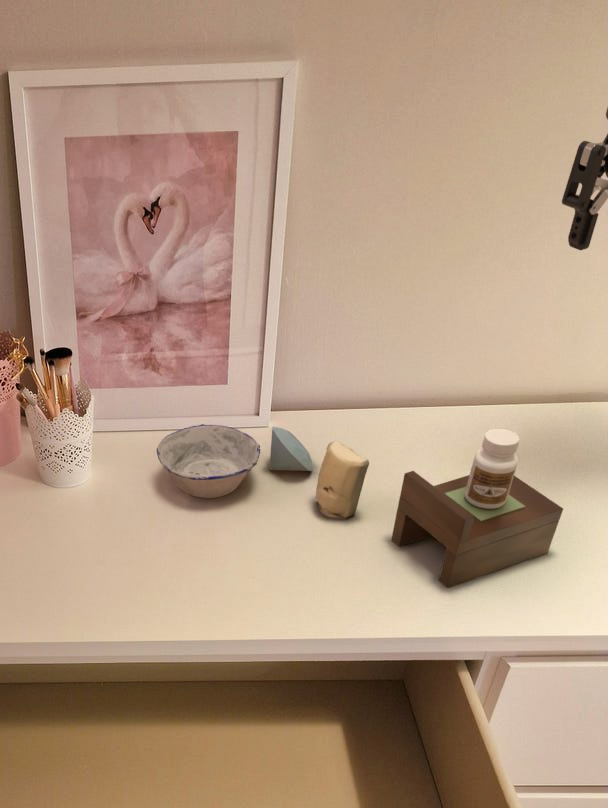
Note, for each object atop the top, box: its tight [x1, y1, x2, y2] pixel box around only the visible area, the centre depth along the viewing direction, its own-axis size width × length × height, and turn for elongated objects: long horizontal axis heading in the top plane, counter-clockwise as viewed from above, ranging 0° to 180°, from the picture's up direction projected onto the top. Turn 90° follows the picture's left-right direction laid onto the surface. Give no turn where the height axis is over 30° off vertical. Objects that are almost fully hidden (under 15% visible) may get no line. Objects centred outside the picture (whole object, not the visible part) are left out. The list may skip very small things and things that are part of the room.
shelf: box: [390, 470, 564, 589], centre depth 97 cm, size 14×10×9 cm
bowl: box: [156, 423, 261, 499], centre depth 110 cm, size 13×13×5 cm
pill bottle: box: [465, 428, 520, 509], centre depth 93 cm, size 4×4×8 cm
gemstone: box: [269, 426, 313, 472], centre depth 112 cm, size 8×8×5 cm
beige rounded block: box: [315, 441, 370, 520], centre depth 103 cm, size 6×5×8 cm
